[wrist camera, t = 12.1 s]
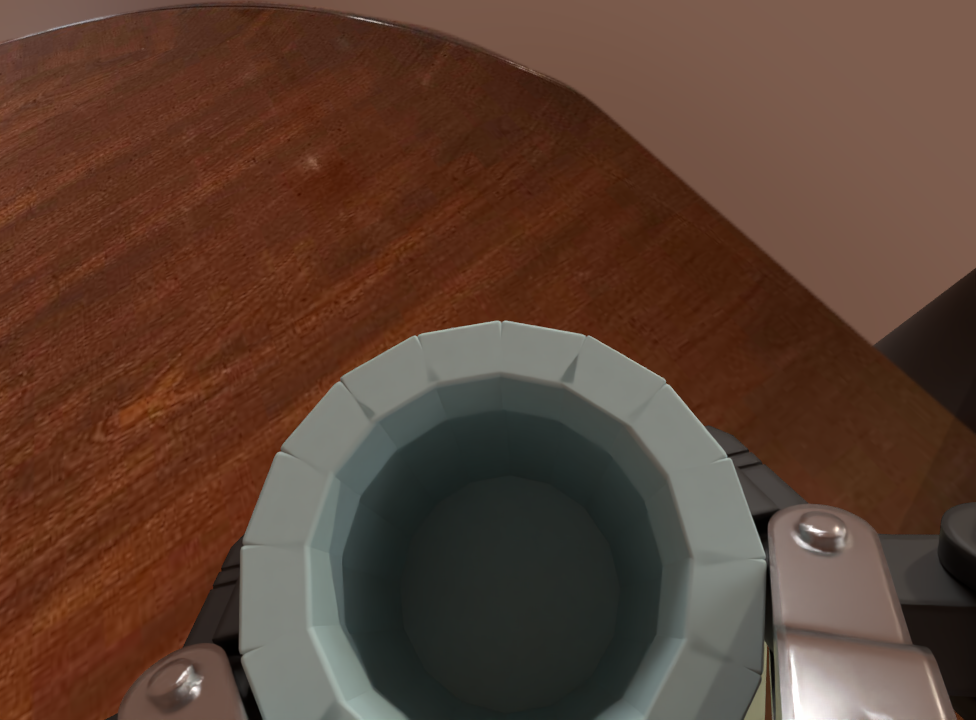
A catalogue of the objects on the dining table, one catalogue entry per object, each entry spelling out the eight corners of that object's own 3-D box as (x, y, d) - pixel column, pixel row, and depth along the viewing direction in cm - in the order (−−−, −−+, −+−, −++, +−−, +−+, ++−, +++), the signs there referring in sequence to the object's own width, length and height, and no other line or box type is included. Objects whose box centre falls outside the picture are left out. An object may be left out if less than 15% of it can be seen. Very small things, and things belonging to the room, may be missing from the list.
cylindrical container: (644, 494, 16) (774, 366, 8) (612, 759, 13) (755, 984, 5) (426, 447, 17) (337, 287, 9) (358, 688, 14) (143, 785, 6)
